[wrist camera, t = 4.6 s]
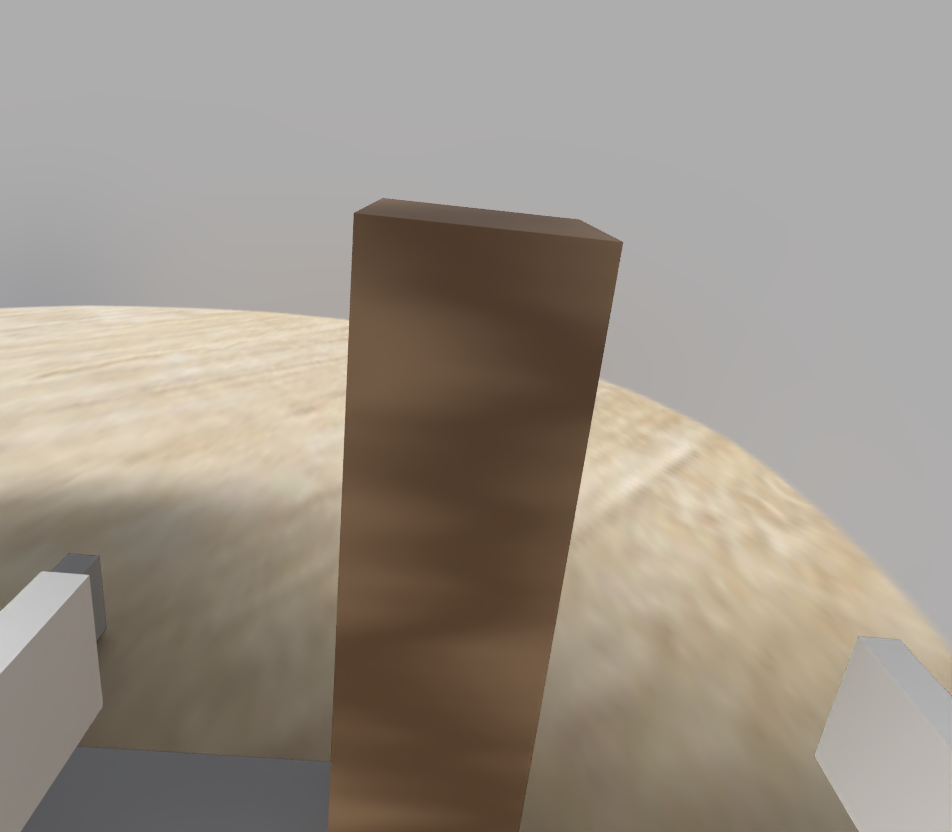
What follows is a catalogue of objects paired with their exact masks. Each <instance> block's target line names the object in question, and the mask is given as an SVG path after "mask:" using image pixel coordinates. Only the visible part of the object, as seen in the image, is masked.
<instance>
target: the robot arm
mask: <svg viewBox="0 0 952 832" xmlns="http://www.w3.org/2000/svg"><path fill="white" fill-rule="evenodd" d="M102 707H103V699H102V689H101V680H100V671H99V661H98V652H97V642H96V633H95V624H94V614H93V605H92V595H91V586H90V577H89V575H83V574H71V573H58V572H46V571H41V572H40V573H39V574H38V575H37V576H36V577H35V578H34V579H33V580H32V581H31V582H30V583H29V584H28V585H27V586H26V587H25V588H24V589H23V590H22V591H21V592H20V593H19V594H18V595H17V596H16V597H15V598H14V599H13V600H12V601H11V602H9V603H8V604H7V605H6V606H5V607H4V608H3V609H2V610H1V611H0V832H21V830H22V829H23V827H24V826H25V824H26V823H27V821H28V820H29V818H30V817H31V815H32V814H33V812H34V811H35V809H36V808H37V806H38V805H39V803H40V801H41V800H42V798H43V797H44V795H45V794H46V792H47V791H48V789H49V788H50V786H51V785H52V783H53V782H54V780H55V779H56V777H57V776H58V774H59V773H60V771H61V770H62V768H63V767H64V765H65V764H66V762H67V760H68V759H69V757H70V756H71V754H72V753H73V751H74V750H75V748H76V747H77V745H78V744H79V742H80V741H81V739H82V738H83V736H84V735H85V733H86V732H87V730H88V729H89V727H90V726H91V724H92V723H93V721H94V719H95V718H96V716H97V715H98V713H99V712H100V710H101V709H102ZM814 756H815V758H816V760H817V762H818V763H819V765H820V767H821V768H822V770H823V772H824V773H825V775H826V777H827V779H828V780H829V782H830V784H831V785H832V787H833V789H834V791H835V792H836V794H837V796H838V797H839V799H840V801H841V802H842V804H843V806H844V808H845V809H846V811H847V813H848V814H849V816H850V818H851V820H852V821H853V823H854V825H855V826H856V828H857V830H858V831H859V832H952V696H951V695H950V694H949V693H948V692H947V691H946V690H945V688H944V687H943V686H942V685H941V684H940V683H939V682H938V681H937V680H936V679H935V677H934V676H933V675H932V674H931V673H930V672H929V671H928V670H927V669H926V667H925V666H924V665H923V664H922V663H921V662H920V661H919V660H918V659H917V658H916V656H915V655H914V654H913V653H912V652H911V651H910V650H909V649H908V648H907V647H906V645H905V644H904V643H903V642H902V641H901V640H899V639H886V638H874V637H861V636H858V638H857V641H856V643H855V646H854V649H853V652H852V654H851V657H850V660H849V662H848V665H847V668H846V671H845V673H844V676H843V679H842V681H841V684H840V687H839V690H838V692H837V695H836V698H835V701H834V703H833V706H832V709H831V711H830V714H829V717H828V720H827V722H826V725H825V728H824V730H823V733H822V736H821V739H820V741H819V744H818V747H817V750H816V752H815V755H814Z"/></svg>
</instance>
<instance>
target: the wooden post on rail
mask: <svg viewBox="0 0 952 832" xmlns="http://www.w3.org/2000/svg"><path fill="white" fill-rule="evenodd" d="M622 245H623V242H622V241H620V240H618V239H616V238H614V237H612V236H610V235H608V234H606V233H604V232H602V231H600V230H598V229H597V228H594V227H592V226H591V225H589V224H587V223H585V222H583V221H581V220H578V219H569V218H560V217H550V216H541V215H532V214H523V213H514V212H505V211H495V210H486V209H477V208H468V207H459V206H450V205H441V204H431V203H422V202H413V201H404V200H394V199H386V198H382V199H381V200H378V201H376V202H374V203H372V204H370V205H369V206H367V207H365V208H363V209H361V210H359V211H357V212H355V213H354V224H353V247H352V249H353V250H352V270H351V271H352V272H351V294H350V318H349V341H348V365H347V388H346V412H345V436H344V459H343V483H342V507H341V530H340V554H339V577H338V601H337V625H336V648H335V672H334V696H333V719H332V743H331V762H326V761H310V760H293V759H277V758H261V757H245V756H228V755H212V754H196V753H180V752H163V751H147V750H131V749H115V748H98V747H82V746H77V747H76V748H75V750H74V751H73V753H72V754H71V756H70V757H69V759H68V760H67V762H66V764H65V765H64V767H63V768H62V770H61V771H60V773H59V774H58V776H57V777H56V779H55V780H54V782H53V783H52V785H51V786H50V788H49V789H48V791H47V792H46V794H45V795H44V797H43V798H42V800H41V801H40V803H39V805H38V806H37V808H36V809H35V811H34V812H33V814H32V815H31V817H30V818H29V820H28V821H27V823H26V824H25V826H24V827H23V829H22V830H21V832H519V827H520V822H521V816H522V810H523V805H524V799H525V793H526V788H527V782H528V776H529V771H530V765H531V759H532V754H533V748H534V743H535V737H536V731H537V726H538V720H539V714H540V709H541V703H542V697H543V692H544V686H545V680H546V675H547V669H548V663H549V658H550V652H551V646H552V641H553V635H554V630H555V624H556V618H557V613H558V607H559V601H560V596H561V590H562V584H563V579H564V573H565V567H566V562H567V556H568V550H569V545H570V539H571V533H572V528H573V522H574V517H575V511H576V505H577V500H578V494H579V488H580V483H581V477H582V471H583V466H584V460H585V454H586V449H587V443H588V437H589V432H590V426H591V420H592V415H593V409H594V404H595V398H596V392H597V387H598V381H599V375H600V370H601V364H602V358H603V353H604V347H605V341H606V335H607V330H608V324H609V319H610V313H611V308H612V301H613V296H614V290H615V285H616V279H617V274H618V268H619V262H620V257H621V251H622ZM51 572H58V573H71V574H83V575H89V577H90V586H91V595H92V605H93V614H94V624H95V633H96V642H97V641H98V639H99V638H100V637H101V635H102V634H103V633H104V631H105V630H106V629H107V627H106V617H105V607H104V597H103V587H102V577H101V567H100V557H99V556H95V555H82V554H68V555H67V556H66V557H65V558H64V559H63V560H62V561H61V562H60V563H59V564H58V565H57V566H56V567H55V568H54V569H53V570H52V571H51Z"/></svg>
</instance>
